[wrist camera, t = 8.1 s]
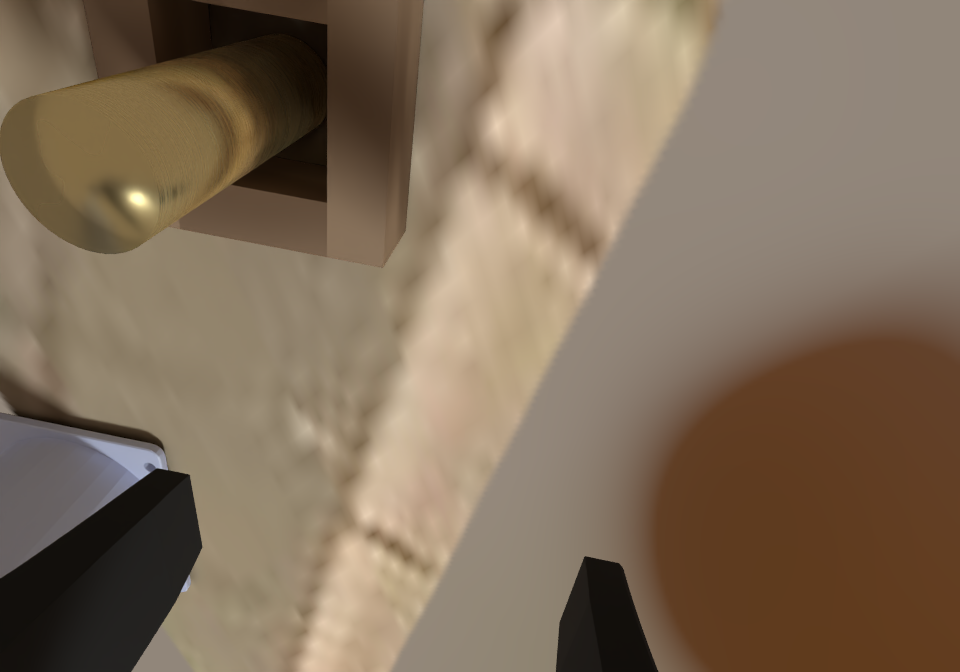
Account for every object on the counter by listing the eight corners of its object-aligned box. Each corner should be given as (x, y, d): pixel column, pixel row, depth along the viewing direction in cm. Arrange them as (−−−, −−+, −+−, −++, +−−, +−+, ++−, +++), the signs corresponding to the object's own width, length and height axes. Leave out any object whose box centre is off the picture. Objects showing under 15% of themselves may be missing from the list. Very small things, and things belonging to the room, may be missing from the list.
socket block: (405, 230, 18) (382, 267, 16) (177, 188, 18) (125, 218, 16) (427, -47, 14) (401, -47, 12) (138, -96, 14) (62, -106, 12)
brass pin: (331, 141, 17) (169, 266, 10) (244, 125, 17) (24, 238, 10) (332, 42, 15) (143, 110, 9) (237, 25, 15) (-24, 80, 9)
